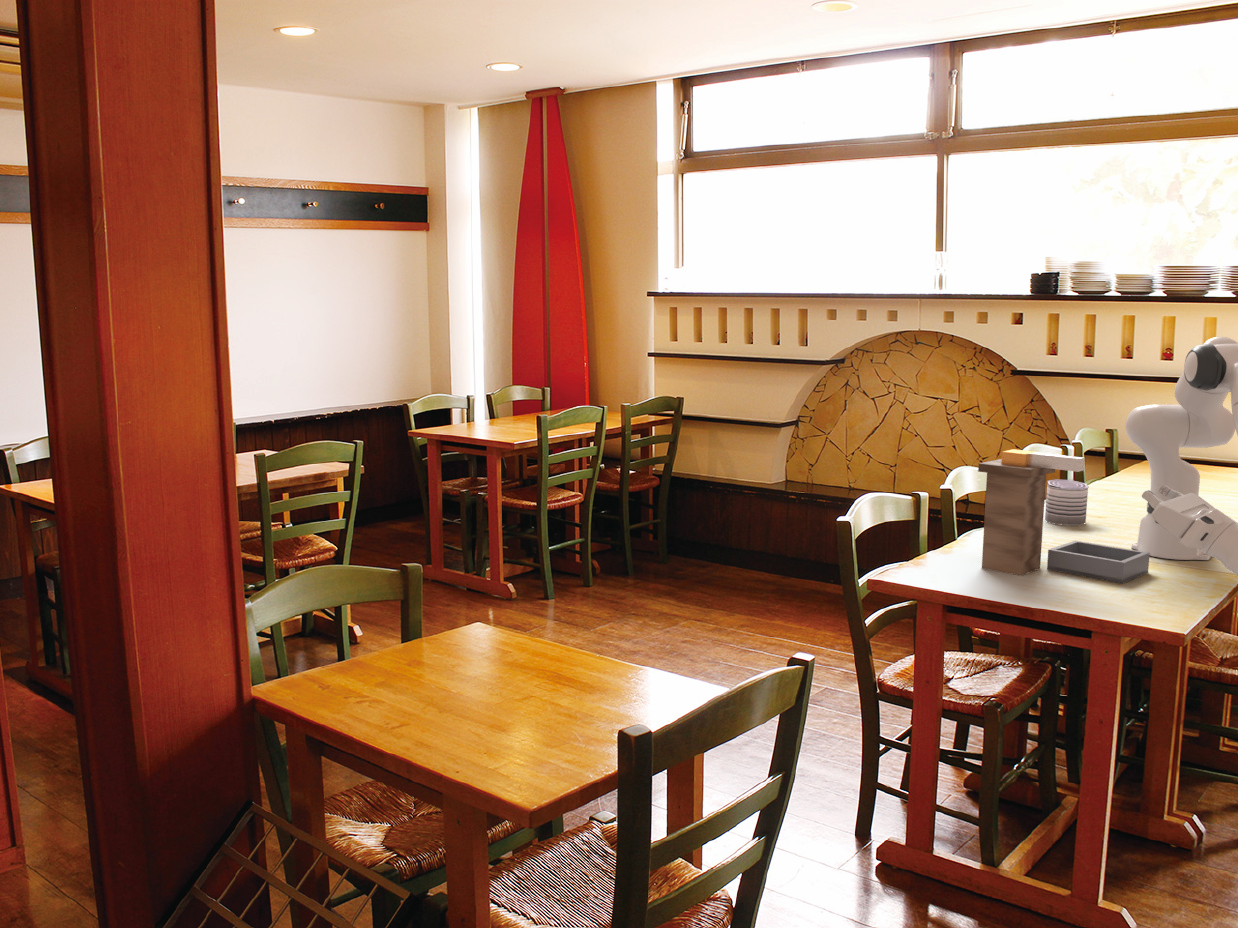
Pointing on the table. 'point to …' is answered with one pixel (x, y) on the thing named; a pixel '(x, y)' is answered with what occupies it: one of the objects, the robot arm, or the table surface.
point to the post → (1013, 517)
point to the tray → (1098, 561)
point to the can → (1066, 502)
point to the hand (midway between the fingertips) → (1152, 490)
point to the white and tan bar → (1042, 460)
